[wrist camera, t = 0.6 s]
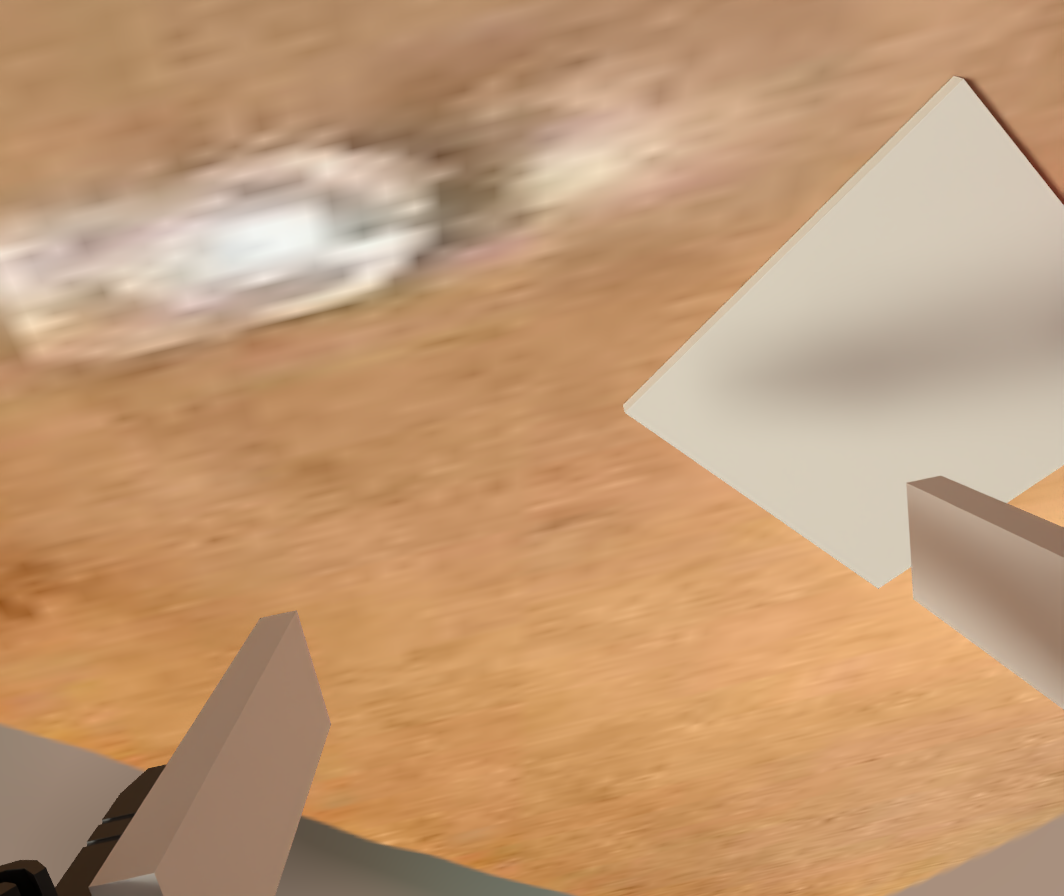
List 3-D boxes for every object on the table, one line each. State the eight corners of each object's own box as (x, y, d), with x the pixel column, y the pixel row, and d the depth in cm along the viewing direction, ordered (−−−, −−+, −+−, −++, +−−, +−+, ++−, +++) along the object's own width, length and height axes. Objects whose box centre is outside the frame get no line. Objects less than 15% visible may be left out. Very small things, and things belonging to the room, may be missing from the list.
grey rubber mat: (953, 75, 23) (963, 78, 23) (1186, 368, 30) (1198, 375, 29) (623, 405, 30) (624, 412, 30) (873, 580, 37) (878, 588, 36)
